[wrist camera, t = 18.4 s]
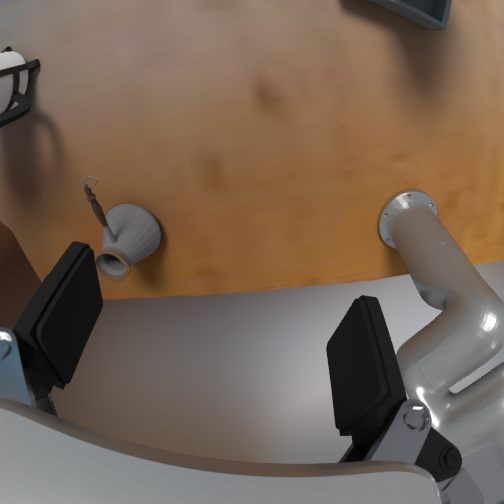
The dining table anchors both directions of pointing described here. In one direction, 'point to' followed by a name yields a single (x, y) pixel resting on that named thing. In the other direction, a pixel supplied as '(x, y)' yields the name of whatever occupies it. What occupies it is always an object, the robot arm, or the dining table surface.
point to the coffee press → (14, 86)
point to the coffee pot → (123, 237)
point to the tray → (420, 11)
